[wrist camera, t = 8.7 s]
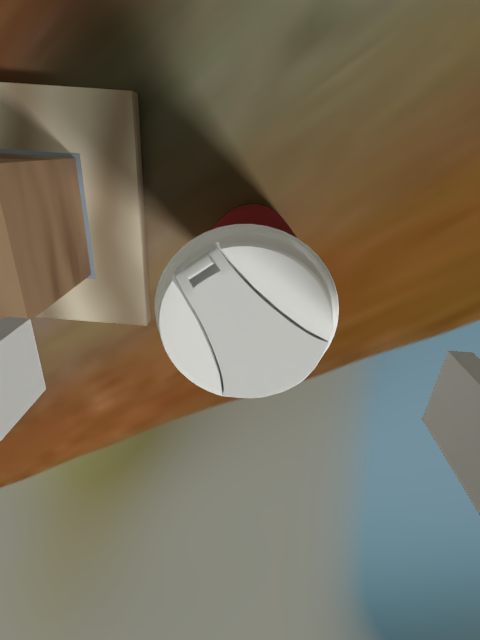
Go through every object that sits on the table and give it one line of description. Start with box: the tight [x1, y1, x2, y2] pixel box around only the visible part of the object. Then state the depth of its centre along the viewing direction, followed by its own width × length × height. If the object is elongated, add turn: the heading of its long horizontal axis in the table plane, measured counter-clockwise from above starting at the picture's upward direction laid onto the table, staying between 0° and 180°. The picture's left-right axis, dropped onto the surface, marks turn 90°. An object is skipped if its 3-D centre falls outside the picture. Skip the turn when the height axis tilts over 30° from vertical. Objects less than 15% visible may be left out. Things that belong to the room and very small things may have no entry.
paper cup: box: [155, 204, 339, 398], centre depth 20 cm, size 8×8×14 cm
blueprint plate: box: [0, 82, 151, 326], centre depth 25 cm, size 16×16×1 cm
